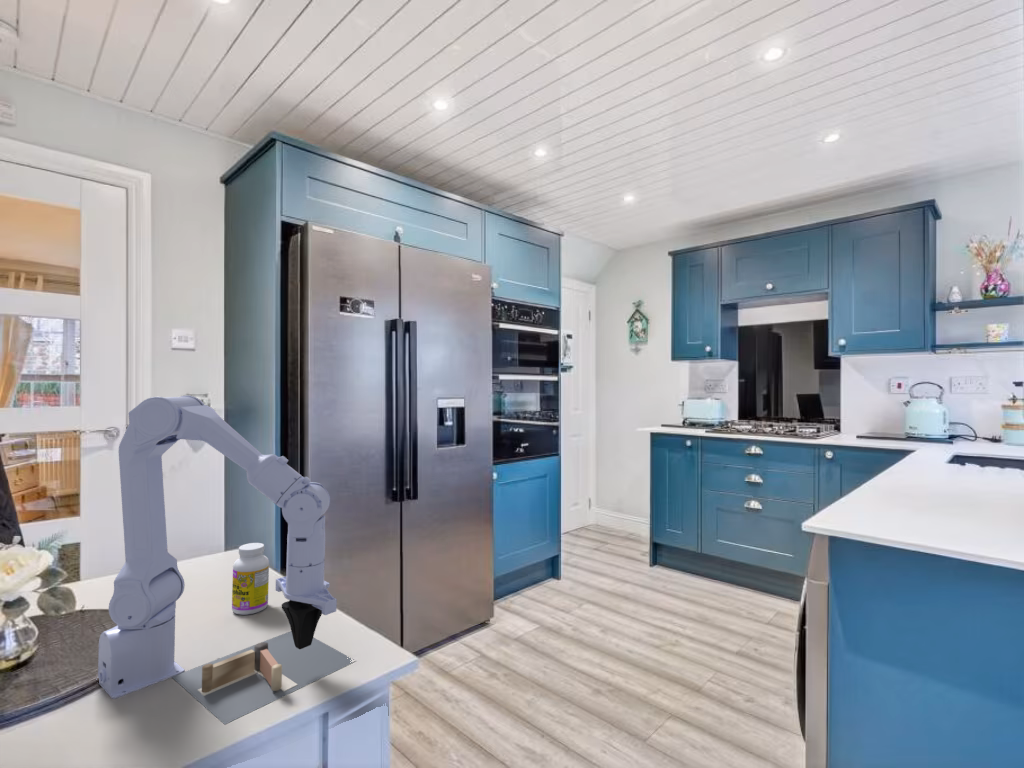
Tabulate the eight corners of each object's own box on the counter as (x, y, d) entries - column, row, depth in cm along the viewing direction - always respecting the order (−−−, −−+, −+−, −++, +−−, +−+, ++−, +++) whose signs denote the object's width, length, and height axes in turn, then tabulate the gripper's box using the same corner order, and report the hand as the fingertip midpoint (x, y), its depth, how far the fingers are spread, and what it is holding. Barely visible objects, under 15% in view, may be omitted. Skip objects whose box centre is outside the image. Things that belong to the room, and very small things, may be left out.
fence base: (205, 695, 77) (205, 670, 77) (199, 690, 78) (199, 665, 78) (270, 667, 85) (270, 645, 85) (263, 663, 86) (264, 641, 86)
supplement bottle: (224, 611, 106) (225, 547, 106) (254, 599, 111) (255, 539, 111) (245, 618, 102) (247, 553, 102) (275, 606, 108) (276, 544, 108)
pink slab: (258, 670, 83) (258, 650, 83) (267, 667, 84) (268, 647, 84) (272, 691, 77) (273, 670, 77) (282, 688, 78) (283, 666, 78)
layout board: (224, 727, 70) (224, 723, 70) (171, 679, 81) (171, 676, 81) (356, 663, 87) (356, 660, 87) (297, 630, 98) (297, 628, 98)
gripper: (354, 565, 83) (351, 651, 83) (303, 546, 92) (301, 623, 92) (314, 577, 77) (311, 669, 77) (264, 555, 86) (261, 638, 86)
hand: (303, 645), depth 84 cm, fingers closed
